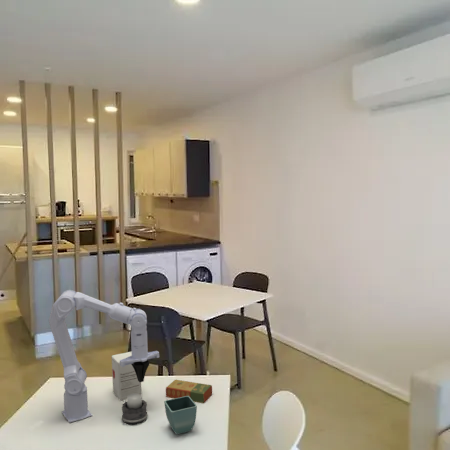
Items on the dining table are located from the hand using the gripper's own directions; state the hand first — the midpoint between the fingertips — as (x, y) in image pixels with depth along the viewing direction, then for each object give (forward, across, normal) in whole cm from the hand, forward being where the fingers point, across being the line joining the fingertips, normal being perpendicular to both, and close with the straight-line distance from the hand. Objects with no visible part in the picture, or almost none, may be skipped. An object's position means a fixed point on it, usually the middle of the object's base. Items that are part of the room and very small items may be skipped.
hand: (140, 381), depth 162 cm
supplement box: (+11, +1, +15) cm, 18 cm away
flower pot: (+11, +4, -21) cm, 24 cm away
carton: (+11, +19, -2) cm, 22 cm away
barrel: (+10, -5, -5) cm, 13 cm away
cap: (+6, -5, -5) cm, 10 cm away
